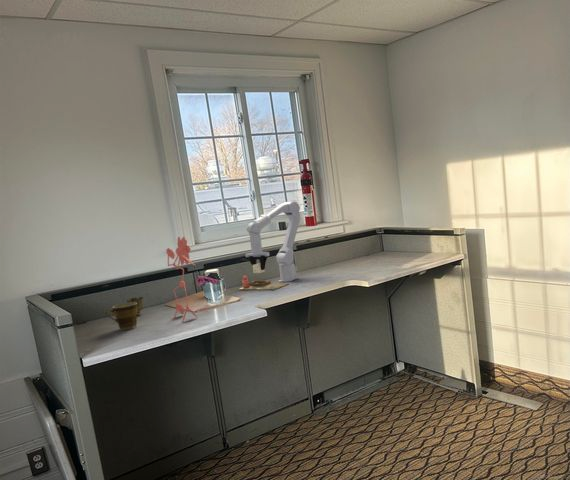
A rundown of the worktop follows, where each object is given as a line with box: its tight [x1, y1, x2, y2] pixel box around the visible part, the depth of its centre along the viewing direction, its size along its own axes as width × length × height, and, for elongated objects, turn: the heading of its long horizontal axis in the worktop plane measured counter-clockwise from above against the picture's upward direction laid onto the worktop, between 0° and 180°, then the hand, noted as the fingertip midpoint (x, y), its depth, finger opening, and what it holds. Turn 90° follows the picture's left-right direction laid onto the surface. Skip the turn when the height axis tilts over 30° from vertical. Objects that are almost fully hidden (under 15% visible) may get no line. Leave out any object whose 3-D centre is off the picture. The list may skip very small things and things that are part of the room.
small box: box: [204, 268, 220, 277], centre depth 265 cm, size 8×6×13 cm
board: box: [238, 280, 290, 291], centre depth 270 cm, size 14×23×2 cm, turn 56°
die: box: [251, 262, 266, 274], centre depth 273 cm, size 5×5×5 cm
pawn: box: [241, 275, 250, 288], centre depth 271 cm, size 3×3×6 cm
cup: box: [126, 296, 144, 317], centre depth 237 cm, size 8×7×8 cm
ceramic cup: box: [105, 302, 138, 332], centre depth 211 cm, size 13×10×10 cm
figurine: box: [166, 236, 210, 321], centre depth 220 cm, size 15×26×35 cm, turn 36°
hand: (259, 269), depth 274 cm, fingers closed on die, 5 cm apart
